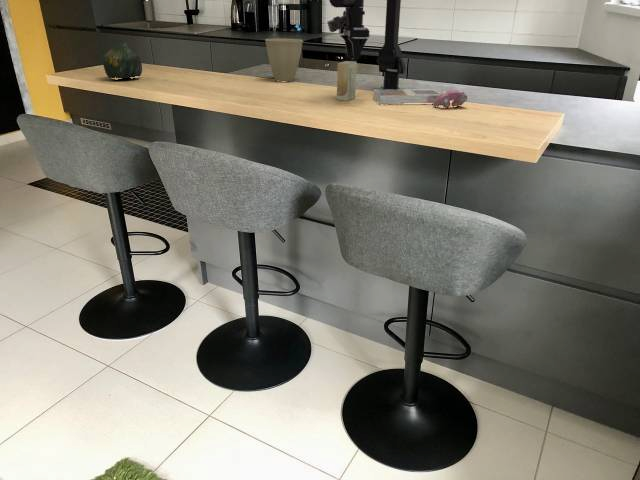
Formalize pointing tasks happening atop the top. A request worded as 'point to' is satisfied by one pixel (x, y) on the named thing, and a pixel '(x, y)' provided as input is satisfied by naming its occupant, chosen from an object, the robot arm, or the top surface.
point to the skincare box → (346, 80)
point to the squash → (122, 62)
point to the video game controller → (450, 98)
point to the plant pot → (284, 57)
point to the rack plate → (405, 96)
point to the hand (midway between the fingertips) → (352, 59)
